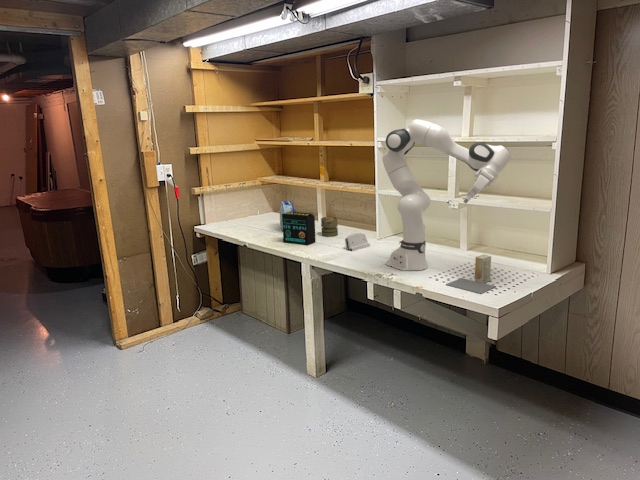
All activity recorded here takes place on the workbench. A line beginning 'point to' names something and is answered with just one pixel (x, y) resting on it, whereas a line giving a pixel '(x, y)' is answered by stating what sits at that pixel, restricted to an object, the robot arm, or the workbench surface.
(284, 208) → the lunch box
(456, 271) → the workbench surface
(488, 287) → the mat
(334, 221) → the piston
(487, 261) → the skincare box
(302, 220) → the battery
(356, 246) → the hinge
